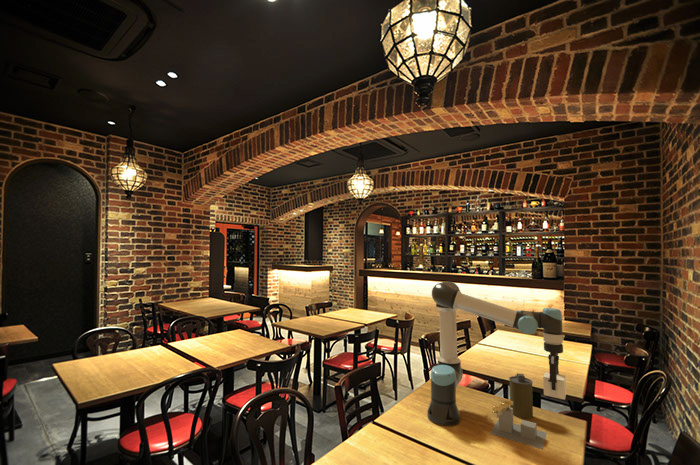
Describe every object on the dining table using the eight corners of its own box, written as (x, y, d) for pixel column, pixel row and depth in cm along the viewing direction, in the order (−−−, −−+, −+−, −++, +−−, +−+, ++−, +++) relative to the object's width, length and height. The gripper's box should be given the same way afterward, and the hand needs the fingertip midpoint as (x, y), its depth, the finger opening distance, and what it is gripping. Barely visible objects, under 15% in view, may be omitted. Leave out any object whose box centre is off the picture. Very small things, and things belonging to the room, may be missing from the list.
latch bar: (500, 404, 152) (500, 395, 153) (514, 408, 148) (513, 399, 149) (487, 415, 142) (487, 405, 142) (501, 419, 138) (501, 409, 138)
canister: (536, 422, 157) (535, 379, 159) (513, 419, 159) (512, 377, 161) (529, 412, 168) (528, 371, 169) (507, 409, 170) (506, 369, 172)
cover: (543, 395, 150) (543, 376, 150) (545, 389, 156) (545, 372, 157) (564, 399, 145) (564, 380, 145) (565, 393, 151) (565, 375, 152)
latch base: (490, 435, 145) (489, 412, 146) (498, 421, 158) (497, 399, 159) (542, 451, 133) (542, 426, 134) (546, 434, 146) (546, 411, 147)
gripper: (561, 349, 142) (563, 404, 140) (564, 339, 158) (565, 388, 157) (541, 346, 146) (542, 399, 144) (546, 337, 163) (547, 384, 161)
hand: (554, 393), depth 150 cm, fingers closed on cover, 8 cm apart
